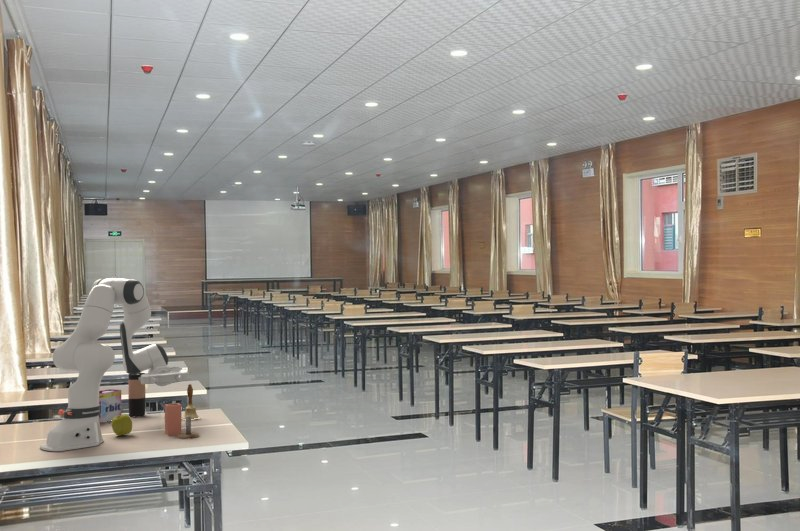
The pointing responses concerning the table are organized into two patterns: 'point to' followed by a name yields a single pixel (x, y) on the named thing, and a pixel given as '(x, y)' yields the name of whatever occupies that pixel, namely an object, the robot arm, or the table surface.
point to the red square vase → (173, 419)
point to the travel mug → (136, 396)
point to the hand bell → (190, 405)
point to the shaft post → (188, 430)
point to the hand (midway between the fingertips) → (167, 379)
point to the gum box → (109, 404)
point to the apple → (122, 424)
